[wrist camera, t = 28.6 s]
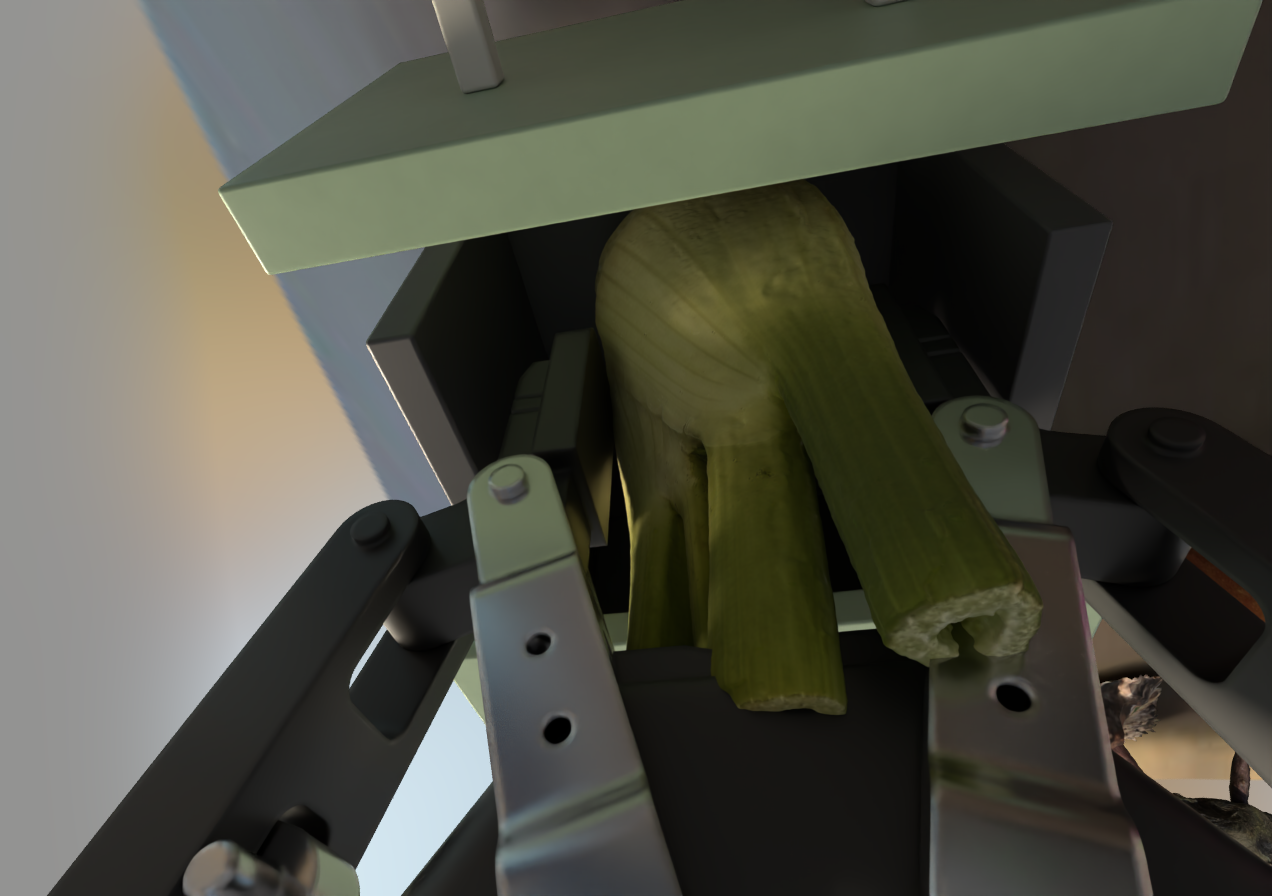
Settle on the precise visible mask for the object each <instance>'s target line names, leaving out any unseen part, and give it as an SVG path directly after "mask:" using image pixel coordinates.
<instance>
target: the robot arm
mask: <svg viewBox="0 0 1272 896" xmlns="http://www.w3.org/2000/svg"><path fill="white" fill-rule="evenodd" d="M869 289H870V290H871V292H872V295H873V299H874V301H875V304H876V307H877V309H878V311H879V312H880V313H881V315H882V316H883V319H884V321H885V323H886V327H887V329H888V331H889V333H890V335H891V338H892V339H893V341H894V345H895V348H896V350H897V352H898V355H899V357H900V359H901V361H902V363H903V365H904V368H905V370H906V372H907V374H908V376H909V378H910V380H911V381H912V384H913V386H914V388H915V390H916V392H917V394H918V395H919V396H920V397H921V399H922V401H923V403H924V405H925V407H926V408H927V410H928V411H929V413H930V414H931V416H932V418H933V420H934V422H935V424H936V425H937V427H938V428H939V430H940V431H941V433H942V434H943V436H944V438H945V441H946V444H947V446H948V447H949V448H950V450H951V452H952V454H953V455H954V457H955V459H956V461H957V462H958V464H959V465H960V467H961V468H962V470H963V472H964V474H965V476H966V478H967V480H968V482H969V483H970V485H971V486H972V487H973V489H974V491H975V493H976V494H977V495H978V497H979V498H980V500H981V501H982V503H983V504H984V506H985V507H986V509H987V511H988V512H989V513H990V515H991V516H992V518H993V519H994V520H995V522H996V524H997V525H998V527H999V528H1000V530H1001V531H1002V532H1003V534H1004V535H1005V537H1006V538H1007V540H1008V542H1009V543H1010V545H1011V546H1012V547H1013V549H1014V550H1015V552H1016V553H1017V555H1018V557H1019V558H1020V560H1021V561H1022V563H1023V565H1024V567H1025V569H1026V570H1027V572H1028V573H1029V575H1030V576H1031V578H1032V580H1033V582H1034V584H1035V586H1036V588H1037V590H1038V592H1039V594H1040V596H1041V598H1042V601H1043V609H1042V615H1041V625H1040V627H1039V629H1038V631H1037V633H1036V634H1035V635H1034V636H1033V637H1032V638H1031V639H1030V641H1029V649H1028V650H1027V651H1023V652H1019V653H1015V654H1011V655H1008V656H1000V657H998V656H986V655H983V654H982V653H980V652H978V651H977V650H976V649H975V648H974V646H973V645H974V643H975V641H974V638H973V637H972V636H971V635H970V634H969V633H968V632H967V631H966V630H965V629H964V628H963V627H962V624H961V621H960V622H957V623H950V624H951V625H952V626H953V629H952V630H951V635H952V637H953V639H954V641H955V642H957V643H958V645H959V649H958V652H959V655H958V656H957V657H948V658H936V659H930V662H929V667H927V666H925V665H923V664H921V663H920V662H918V661H916V660H913V659H910V658H908V657H906V656H902V655H899V654H897V653H896V652H895V651H893V650H892V649H890V648H887V647H886V646H885V645H884V644H883V641H882V637H881V635H880V634H879V632H878V631H877V629H865V630H854V631H842V632H839V639H840V641H839V642H840V651H841V658H842V663H843V672H844V678H845V686H846V695H847V700H848V702H847V711H846V714H843V715H830V714H823V713H819V712H816V711H815V710H813V709H807V708H801V709H791V710H783V711H780V712H773V711H751V710H747V709H739V708H738V707H737V706H736V704H735V703H734V701H733V700H732V698H731V696H730V695H729V693H727V692H725V691H724V690H722V689H721V688H720V687H719V685H718V683H717V680H716V677H715V676H711V656H712V649H707V648H700V647H694V646H687V645H681V646H669V647H658V648H646V649H635V650H623V651H615V649H614V646H613V643H612V640H611V637H610V633H609V630H608V627H607V624H606V621H605V618H604V615H603V612H602V609H601V606H600V603H599V600H598V597H597V594H596V591H595V588H594V585H593V581H592V578H591V576H590V573H589V570H588V563H589V552H590V547H599V546H607V543H608V527H609V511H610V495H611V479H612V463H613V447H614V435H613V421H612V419H613V413H612V404H611V397H610V385H609V381H608V377H607V373H606V369H605V365H604V362H603V358H602V354H601V350H600V346H599V342H598V339H597V335H596V332H595V330H594V329H593V328H586V329H579V330H573V331H566V332H560V333H556V334H555V336H554V340H553V345H552V349H551V354H550V359H549V360H544V361H538V362H533V363H532V364H531V365H530V367H529V368H528V369H527V370H526V371H525V373H524V374H523V375H522V376H521V377H520V379H519V381H518V385H517V389H516V392H515V396H514V397H515V400H513V404H512V408H511V414H510V415H509V419H508V423H507V427H506V430H505V434H504V438H503V442H502V446H501V450H500V453H499V457H498V460H497V461H495V462H493V463H491V464H489V465H488V466H486V467H485V468H484V469H482V470H481V471H480V472H479V473H478V474H477V475H476V476H475V477H474V478H473V480H472V481H471V483H470V485H469V487H468V490H467V499H465V500H463V501H461V502H459V503H457V504H455V505H452V506H449V507H447V508H444V509H441V510H439V511H436V512H433V513H431V514H428V515H425V516H422V517H420V516H419V515H418V513H417V511H416V510H415V508H414V507H413V506H412V505H411V504H409V503H407V502H405V501H400V500H386V501H381V502H377V503H374V504H371V505H369V506H367V507H365V508H363V509H361V510H359V511H358V512H356V513H354V514H353V515H352V516H350V517H349V518H348V519H347V520H346V521H345V522H343V523H342V525H341V526H340V527H339V528H338V529H337V530H336V532H335V533H334V534H333V535H332V537H331V538H330V539H329V540H328V542H327V543H326V544H325V546H324V547H323V548H322V549H321V551H320V552H319V553H318V554H317V556H316V557H315V558H314V559H313V561H312V562H311V563H310V564H309V566H308V567H307V568H306V570H305V571H304V572H303V573H302V575H301V576H300V577H299V578H298V580H297V581H296V582H295V584H294V585H293V586H292V587H291V589H290V590H289V591H288V592H287V593H286V595H285V596H284V597H283V599H282V600H281V601H280V602H279V604H278V605H277V606H276V607H275V609H274V610H273V611H272V613H271V614H270V615H269V616H268V617H267V619H266V620H265V621H264V623H263V624H262V625H261V626H260V628H259V629H258V630H257V632H256V633H255V634H254V635H253V636H252V638H251V639H250V640H249V641H248V643H247V644H246V645H245V647H244V648H243V649H242V650H241V652H240V653H239V654H238V656H237V657H236V658H235V659H234V660H233V662H232V663H231V664H230V665H229V667H228V668H227V669H226V671H225V672H224V673H223V674H222V676H221V677H220V678H219V679H218V681H217V682H216V683H215V684H214V686H213V687H212V688H211V689H210V691H209V692H208V693H207V694H206V696H205V697H204V698H203V699H202V701H201V702H200V703H199V705H198V706H197V707H196V709H195V710H194V711H193V712H192V714H191V715H190V716H189V717H188V718H187V720H186V721H185V722H184V723H183V725H182V726H181V727H180V729H179V730H178V731H177V732H176V734H175V735H174V736H173V737H172V739H171V740H170V741H169V743H168V744H167V745H166V746H165V748H164V749H163V750H162V751H161V753H160V754H159V755H158V756H157V758H156V759H155V760H154V761H153V763H152V764H151V765H150V766H149V768H148V769H147V770H146V771H145V773H144V774H143V775H142V776H141V778H140V779H139V780H138V782H137V783H136V784H135V785H134V787H133V788H132V789H131V790H130V792H129V793H128V794H127V795H126V797H125V798H124V799H123V800H122V802H121V803H120V804H119V805H118V807H117V808H116V809H115V811H114V812H113V813H112V814H111V816H110V817H109V818H108V819H107V821H106V822H105V823H104V825H103V826H102V827H101V828H100V829H99V831H98V832H97V833H96V835H95V836H94V837H93V838H92V840H91V841H90V842H89V844H88V845H87V846H86V847H85V848H84V850H83V851H82V852H81V854H80V855H79V856H78V857H77V858H76V860H75V861H74V862H73V864H72V865H71V866H70V868H69V869H68V870H67V871H66V872H65V874H64V875H63V876H62V877H61V879H60V880H59V881H58V883H57V884H56V885H55V886H54V888H53V889H52V890H51V891H50V893H49V894H48V895H47V896H360V886H359V881H358V876H357V874H356V872H355V870H356V868H357V866H358V864H359V862H360V860H361V858H362V856H363V854H364V852H365V851H366V849H367V847H368V845H369V843H370V841H371V839H372V837H373V835H374V833H375V831H376V829H377V827H378V825H379V823H380V822H381V820H382V818H383V816H384V814H385V812H386V810H387V808H388V806H389V804H390V802H391V800H392V798H393V796H394V794H395V792H396V790H397V789H398V787H399V785H400V783H401V781H402V779H403V777H404V775H405V773H406V771H407V769H408V767H409V765H410V763H411V761H412V759H413V758H414V756H415V754H416V752H417V750H418V748H419V746H420V744H421V742H422V740H423V738H424V736H425V734H426V732H427V730H428V729H429V727H430V725H431V723H432V721H433V719H434V717H435V715H436V713H437V711H438V709H439V707H440V705H441V703H442V701H443V699H444V697H445V696H446V694H447V692H448V690H449V688H450V686H451V684H452V682H453V680H454V678H455V676H456V674H457V672H458V671H459V669H460V667H461V665H462V663H463V661H464V659H465V657H466V655H467V653H468V651H469V649H470V647H471V645H472V643H473V641H474V640H475V645H476V653H477V661H478V669H479V676H480V684H481V692H482V700H483V708H484V715H485V723H486V731H487V739H488V746H489V754H490V762H491V770H492V778H493V782H492V783H491V784H490V786H489V787H488V788H487V789H486V791H485V792H484V793H483V794H482V796H481V797H480V798H479V799H478V801H477V802H476V803H475V805H473V807H472V808H471V809H470V810H469V812H468V813H467V814H466V816H465V817H464V818H463V819H462V820H461V822H460V823H459V824H458V825H457V827H456V828H455V829H454V830H453V832H452V833H451V834H450V835H449V837H448V838H447V839H446V840H445V842H444V843H443V844H442V845H441V847H440V848H439V849H438V850H437V852H436V853H435V854H434V855H433V856H432V858H431V859H430V860H429V861H428V863H427V864H426V865H425V866H424V868H423V869H422V870H421V871H420V873H419V874H418V875H417V876H416V878H415V879H414V880H413V881H412V883H411V884H410V885H409V886H408V888H407V889H406V890H405V891H404V893H403V894H402V895H401V896H1272V866H1271V865H1270V864H1268V863H1267V862H1266V861H1264V860H1263V859H1261V858H1260V857H1259V856H1257V855H1256V854H1255V853H1253V852H1252V851H1250V850H1249V849H1248V848H1246V847H1245V846H1244V845H1242V844H1241V843H1239V842H1238V841H1237V840H1235V839H1234V838H1233V837H1231V836H1230V835H1228V834H1227V833H1226V832H1224V831H1223V830H1222V829H1220V828H1219V827H1217V826H1216V825H1215V824H1213V823H1212V822H1211V821H1209V820H1208V819H1206V818H1205V817H1204V816H1202V815H1201V814H1200V813H1198V812H1197V811H1195V810H1194V809H1193V808H1191V807H1190V806H1189V805H1187V804H1186V803H1184V802H1183V801H1182V800H1180V799H1179V798H1178V797H1176V796H1175V795H1174V794H1172V793H1171V792H1169V791H1168V790H1167V789H1165V788H1164V787H1162V786H1161V785H1160V784H1158V783H1157V782H1156V781H1154V780H1153V779H1152V778H1150V777H1149V776H1147V775H1146V774H1145V773H1143V772H1142V771H1141V770H1139V769H1138V768H1136V767H1135V766H1134V765H1132V764H1131V763H1130V762H1128V761H1127V760H1125V759H1124V758H1123V757H1121V756H1120V755H1119V754H1117V753H1116V752H1115V751H1113V750H1112V749H1111V744H1110V738H1109V733H1108V727H1107V721H1106V716H1105V710H1104V704H1103V699H1102V693H1101V687H1100V682H1099V676H1098V671H1097V665H1096V659H1095V654H1094V648H1093V642H1092V637H1091V631H1090V625H1089V620H1088V614H1087V608H1086V603H1085V601H1086V602H1087V603H1088V604H1089V605H1090V606H1091V607H1092V608H1093V609H1094V610H1095V611H1096V612H1097V613H1098V614H1099V615H1100V616H1101V617H1102V618H1103V619H1104V620H1105V621H1106V622H1107V623H1108V624H1109V625H1110V626H1111V627H1112V628H1113V629H1114V630H1115V631H1116V632H1117V633H1118V634H1119V635H1120V636H1121V637H1122V638H1123V639H1124V640H1125V641H1126V642H1127V643H1128V644H1129V645H1130V646H1131V647H1132V648H1133V649H1134V650H1135V651H1136V652H1137V653H1138V654H1139V655H1140V656H1141V657H1142V658H1143V659H1144V660H1145V661H1146V662H1147V663H1148V664H1149V665H1150V666H1151V667H1152V668H1153V669H1154V670H1155V671H1156V672H1157V673H1158V674H1159V675H1160V676H1161V677H1162V678H1163V679H1164V680H1165V681H1166V682H1167V683H1168V684H1169V685H1170V686H1171V687H1172V688H1173V689H1174V690H1175V691H1176V692H1177V693H1178V694H1179V695H1180V696H1181V697H1182V698H1183V699H1184V700H1185V701H1186V702H1187V703H1188V704H1189V705H1190V706H1191V707H1192V708H1193V709H1194V710H1195V711H1196V713H1197V714H1198V715H1199V716H1200V717H1201V718H1202V719H1203V720H1204V721H1205V722H1206V723H1207V724H1208V725H1209V726H1210V727H1211V728H1212V729H1213V730H1214V731H1215V732H1216V733H1217V734H1218V735H1219V736H1220V737H1221V738H1222V739H1223V740H1224V741H1225V742H1226V743H1227V744H1228V745H1229V746H1230V747H1231V748H1232V749H1233V750H1234V751H1235V752H1236V753H1237V754H1238V755H1239V756H1240V757H1241V758H1242V759H1243V760H1244V761H1245V762H1246V763H1247V764H1248V765H1249V766H1250V767H1251V768H1252V769H1253V770H1254V771H1255V772H1256V773H1257V774H1258V775H1259V776H1260V777H1261V778H1262V779H1263V780H1264V781H1265V782H1266V783H1267V784H1268V785H1269V786H1270V787H1271V788H1272V457H1271V456H1270V455H1268V454H1266V453H1265V452H1263V451H1261V450H1260V449H1258V448H1257V447H1255V446H1253V445H1252V444H1250V443H1248V442H1247V441H1245V440H1243V439H1242V438H1240V437H1239V436H1237V435H1235V434H1234V433H1232V432H1230V431H1229V430H1227V429H1225V428H1224V427H1222V426H1221V425H1219V424H1217V423H1215V422H1213V421H1211V420H1209V419H1207V418H1204V417H1202V416H1199V415H1196V414H1193V413H1190V412H1186V411H1182V410H1176V409H1170V408H1141V409H1135V410H1131V411H1128V412H1125V413H1123V414H1121V415H1119V416H1118V417H1116V418H1115V419H1114V420H1113V421H1112V422H1111V425H1110V427H1109V429H1108V432H1107V434H1106V436H1100V435H1088V434H1077V433H1065V432H1056V431H1049V430H1044V429H1040V428H1039V427H1038V423H1037V422H1036V420H1035V418H1034V417H1033V416H1032V415H1031V414H1030V413H1029V412H1028V411H1026V410H1025V409H1024V408H1022V407H1020V406H1018V405H1017V404H1014V403H1012V402H1010V401H1007V400H1003V399H1000V398H995V397H991V395H990V394H989V392H988V391H987V389H986V388H985V386H984V385H983V383H982V382H981V380H980V379H979V377H978V376H977V374H976V373H975V371H974V370H973V368H972V367H971V365H970V364H969V362H968V361H967V359H966V358H965V356H964V355H963V353H962V352H960V351H959V347H958V346H957V344H956V343H955V341H954V340H953V338H950V334H949V332H948V331H947V329H946V328H945V326H944V325H943V323H942V322H941V320H940V319H939V318H938V317H936V316H935V315H933V314H931V313H930V312H928V311H926V310H925V309H923V308H921V307H919V306H918V305H915V306H908V307H902V308H900V307H899V305H898V304H897V302H896V300H895V298H894V297H893V295H892V293H891V292H890V290H889V288H888V287H887V285H886V284H885V283H879V284H872V285H869ZM1191 547H1192V548H1193V549H1194V550H1196V551H1197V552H1198V553H1199V554H1201V555H1202V556H1203V557H1204V558H1206V559H1207V560H1208V561H1209V562H1211V563H1212V564H1213V565H1214V566H1216V567H1217V568H1218V569H1219V570H1221V571H1222V572H1223V573H1225V574H1226V575H1227V576H1228V577H1230V578H1231V579H1232V580H1233V581H1235V582H1236V583H1237V584H1238V585H1240V586H1241V587H1242V588H1243V589H1245V590H1246V591H1247V592H1248V593H1249V594H1250V595H1251V596H1252V597H1253V598H1254V599H1255V600H1256V602H1257V603H1258V605H1259V606H1260V608H1261V610H1262V612H1263V615H1264V618H1265V622H1264V621H1263V620H1262V619H1260V618H1259V617H1258V616H1257V615H1255V614H1254V613H1253V612H1252V611H1250V610H1249V609H1248V608H1247V607H1246V606H1244V605H1243V604H1242V603H1241V602H1239V601H1238V600H1237V599H1236V598H1235V597H1233V596H1232V595H1231V594H1230V593H1228V592H1227V591H1226V590H1225V589H1223V588H1222V587H1221V586H1220V585H1219V584H1217V583H1216V582H1215V581H1214V580H1212V579H1211V578H1210V577H1209V576H1207V575H1206V574H1205V573H1204V572H1203V571H1201V570H1200V569H1199V568H1198V567H1196V566H1195V565H1194V564H1193V563H1191V562H1190V561H1189V560H1188V559H1187V558H1185V557H1186V556H1187V554H1188V552H1189V550H1190V549H1191ZM382 625H384V626H385V627H386V629H387V630H386V632H385V633H384V635H383V637H382V638H381V640H380V641H379V643H378V644H377V646H376V648H375V649H374V651H373V652H372V654H371V656H370V657H369V659H368V660H367V662H366V663H365V665H364V667H363V668H362V670H361V671H360V673H359V675H358V676H357V678H356V679H355V681H354V682H353V684H352V686H351V687H350V689H349V685H350V680H351V677H352V674H353V671H354V669H355V667H356V666H357V664H358V663H359V661H360V659H361V658H362V656H363V655H364V653H365V652H366V650H367V649H368V647H369V645H370V644H371V642H372V641H373V639H374V638H375V636H376V634H377V633H378V631H379V630H380V628H381V627H382Z"/></svg>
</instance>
